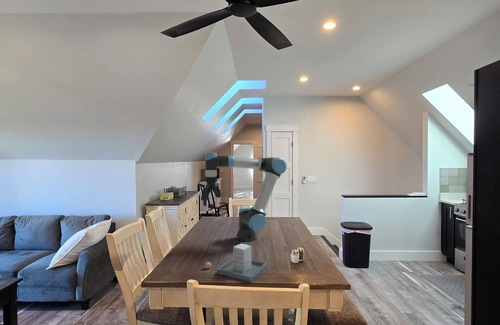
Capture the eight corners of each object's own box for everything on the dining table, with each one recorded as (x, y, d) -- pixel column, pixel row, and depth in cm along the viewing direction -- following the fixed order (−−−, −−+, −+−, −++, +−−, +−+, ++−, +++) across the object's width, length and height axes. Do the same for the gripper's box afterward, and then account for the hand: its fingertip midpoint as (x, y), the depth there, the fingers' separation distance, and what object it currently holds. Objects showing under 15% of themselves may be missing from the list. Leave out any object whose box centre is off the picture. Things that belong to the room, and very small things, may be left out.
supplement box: (241, 265, 149) (241, 243, 149) (251, 268, 145) (252, 245, 144) (232, 269, 143) (232, 246, 143) (243, 273, 139) (243, 249, 138)
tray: (236, 260, 157) (236, 256, 157) (267, 267, 148) (267, 262, 148) (216, 273, 140) (216, 268, 140) (250, 282, 130) (250, 277, 130)
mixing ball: (207, 266, 149) (207, 260, 148) (212, 267, 147) (212, 261, 147) (203, 268, 145) (203, 262, 145) (208, 270, 144) (208, 263, 144)
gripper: (216, 174, 186) (216, 205, 186) (194, 177, 163) (195, 212, 164) (225, 175, 183) (226, 205, 183) (205, 178, 160) (205, 213, 161)
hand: (211, 208), depth 173 cm, fingers open, 13 cm apart
